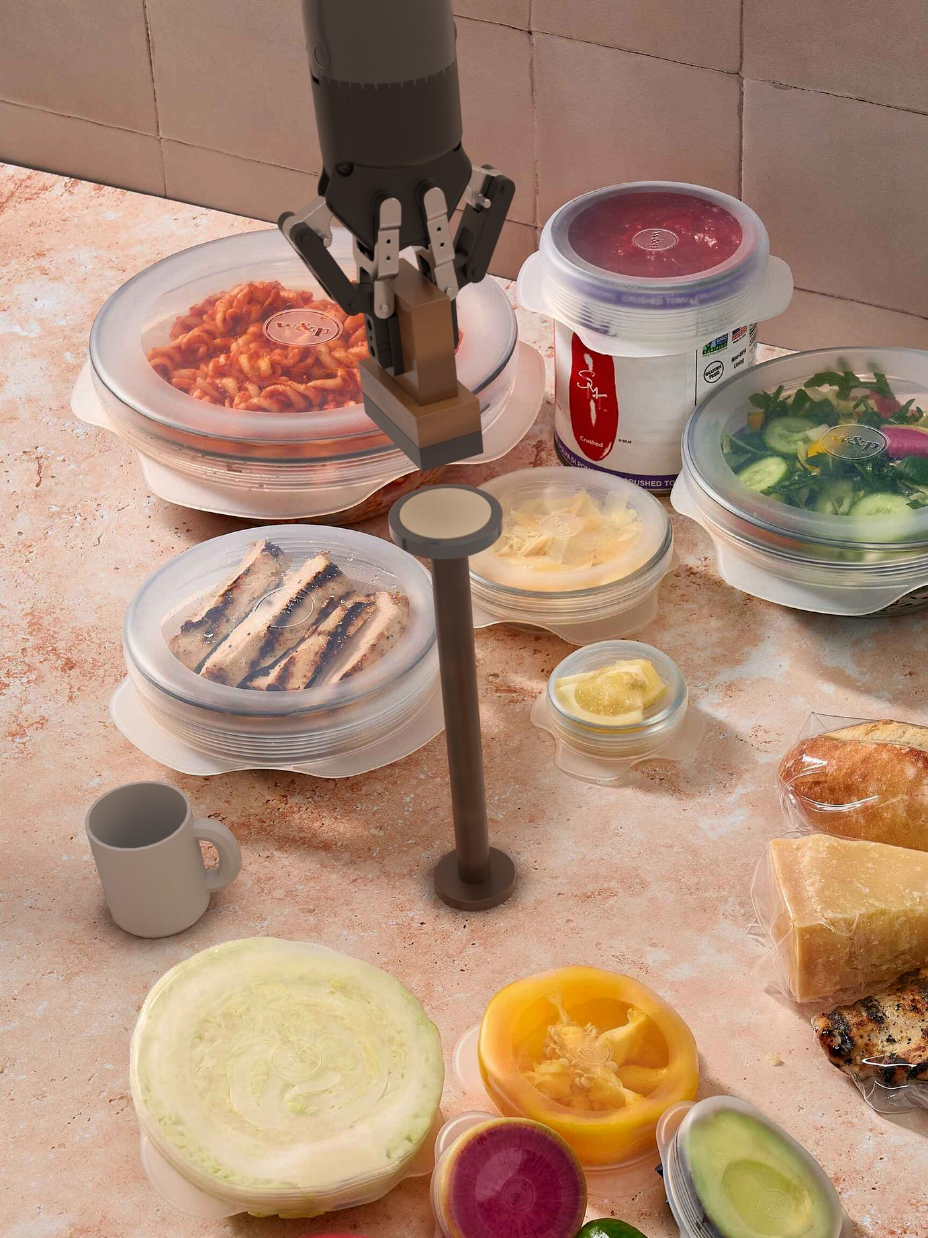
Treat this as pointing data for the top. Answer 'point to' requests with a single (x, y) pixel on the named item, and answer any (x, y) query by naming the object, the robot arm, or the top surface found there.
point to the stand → (464, 751)
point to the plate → (446, 521)
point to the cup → (157, 857)
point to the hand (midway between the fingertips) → (415, 362)
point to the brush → (423, 381)
